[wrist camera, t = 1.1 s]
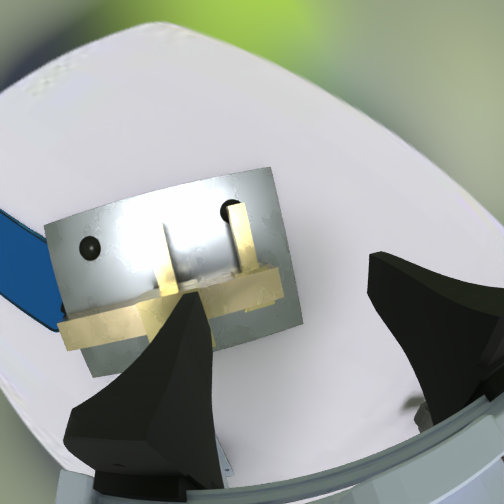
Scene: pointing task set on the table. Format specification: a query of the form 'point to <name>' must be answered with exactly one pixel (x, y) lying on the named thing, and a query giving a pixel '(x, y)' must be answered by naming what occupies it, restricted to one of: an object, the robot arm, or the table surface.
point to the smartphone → (28, 273)
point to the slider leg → (162, 284)
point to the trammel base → (175, 265)
